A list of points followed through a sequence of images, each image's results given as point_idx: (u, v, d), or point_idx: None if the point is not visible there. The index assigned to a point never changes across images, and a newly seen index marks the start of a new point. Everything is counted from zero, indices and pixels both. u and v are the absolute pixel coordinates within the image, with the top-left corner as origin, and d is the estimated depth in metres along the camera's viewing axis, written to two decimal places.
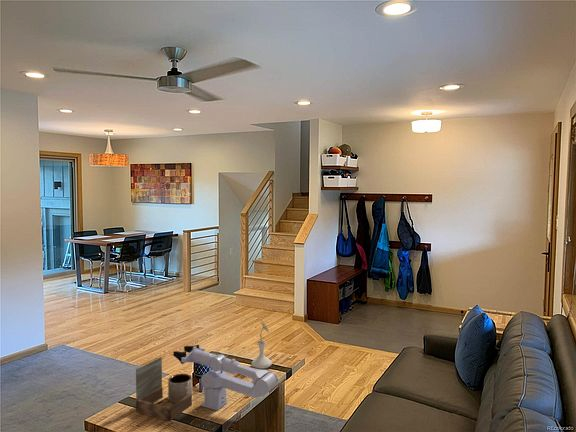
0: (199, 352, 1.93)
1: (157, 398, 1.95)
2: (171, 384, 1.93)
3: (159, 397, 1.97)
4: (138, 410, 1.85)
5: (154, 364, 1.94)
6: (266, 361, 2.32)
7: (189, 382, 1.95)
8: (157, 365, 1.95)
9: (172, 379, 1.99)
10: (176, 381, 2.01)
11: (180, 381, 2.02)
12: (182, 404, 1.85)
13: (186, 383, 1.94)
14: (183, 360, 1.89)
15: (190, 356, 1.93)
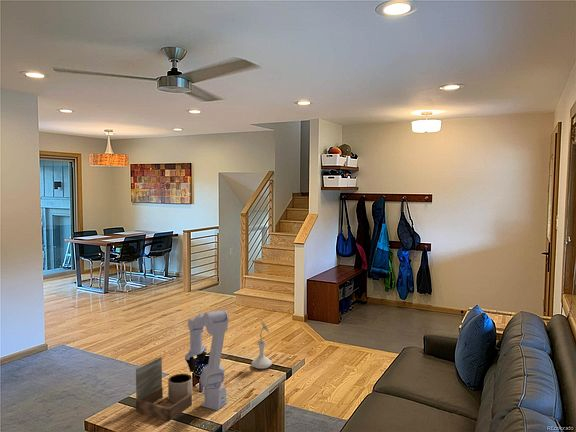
0: None
1: (157, 398, 1.95)
2: (171, 384, 1.93)
3: (159, 397, 1.97)
4: (138, 410, 1.85)
5: (154, 364, 1.94)
6: (266, 361, 2.32)
7: (189, 382, 1.95)
8: (157, 365, 1.95)
9: (172, 379, 1.99)
10: (176, 381, 2.01)
11: (180, 381, 2.02)
12: (182, 404, 1.85)
13: (186, 383, 1.94)
14: (186, 357, 2.01)
15: (191, 353, 2.05)
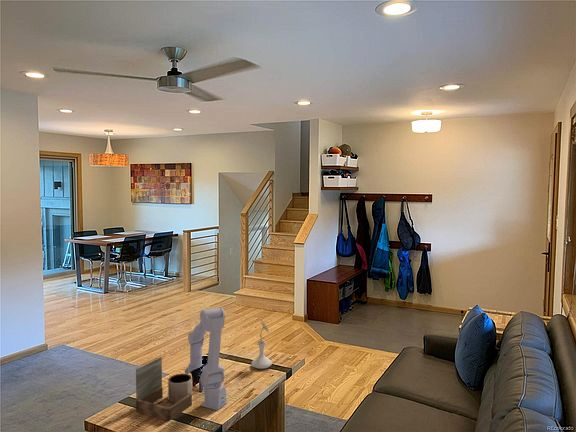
0: None
1: (157, 398, 1.95)
2: (171, 384, 1.93)
3: (159, 397, 1.97)
4: (138, 410, 1.85)
5: (154, 364, 1.94)
6: (266, 361, 2.32)
7: (189, 382, 1.95)
8: (157, 365, 1.95)
9: (172, 379, 1.99)
10: (176, 381, 2.01)
11: (180, 381, 2.02)
12: (182, 404, 1.85)
13: (186, 383, 1.94)
14: (186, 371, 2.02)
15: (191, 366, 2.06)
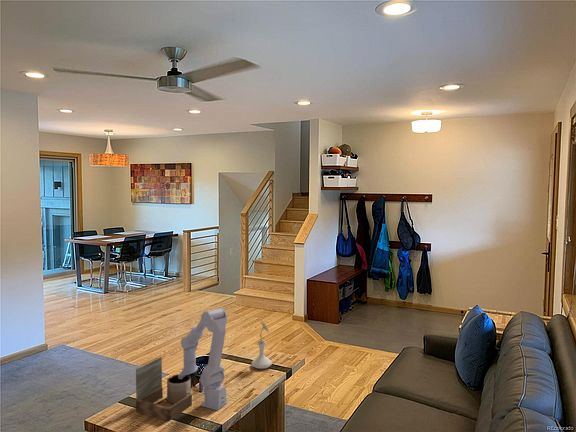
0: None
1: (157, 398, 1.95)
2: (170, 384, 1.92)
3: (159, 397, 1.97)
4: (138, 410, 1.85)
5: (154, 364, 1.94)
6: (266, 361, 2.32)
7: (188, 382, 1.95)
8: (157, 365, 1.95)
9: (171, 379, 1.98)
10: (175, 382, 2.00)
11: (179, 381, 2.01)
12: (182, 404, 1.85)
13: (185, 383, 1.93)
14: (179, 376, 1.97)
15: (184, 371, 2.01)
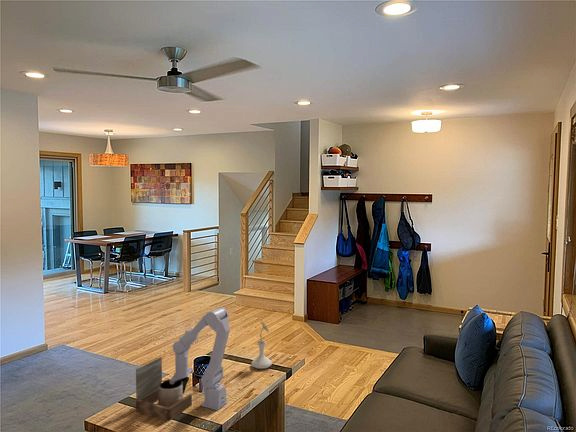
0: None
1: (157, 398, 1.95)
2: (161, 390, 1.87)
3: None
4: (138, 410, 1.85)
5: (154, 364, 1.94)
6: (266, 361, 2.32)
7: (180, 388, 1.89)
8: (157, 365, 1.95)
9: (162, 385, 1.93)
10: (167, 387, 1.95)
11: (170, 386, 1.96)
12: (182, 404, 1.85)
13: (177, 389, 1.88)
14: (171, 381, 1.92)
15: (176, 376, 1.96)
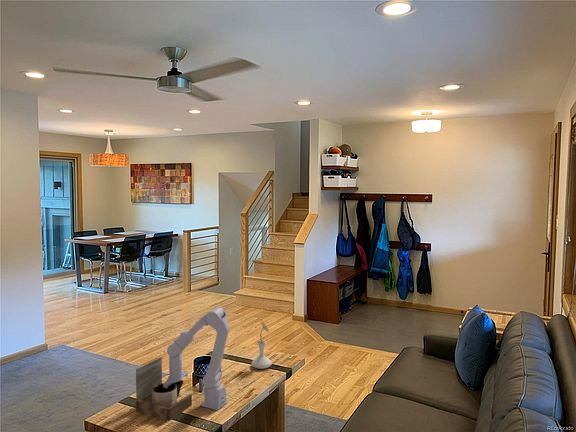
0: None
1: None
2: (155, 394, 1.83)
3: None
4: (138, 410, 1.85)
5: (154, 364, 1.94)
6: (266, 361, 2.32)
7: (174, 391, 1.86)
8: (157, 365, 1.95)
9: (156, 389, 1.89)
10: (160, 391, 1.91)
11: (164, 390, 1.92)
12: (182, 404, 1.85)
13: (171, 393, 1.84)
14: (164, 385, 1.88)
15: (170, 380, 1.92)
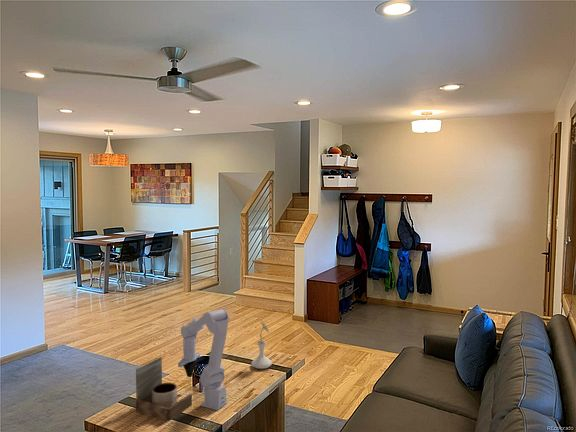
0: None
1: None
2: (155, 394, 1.83)
3: None
4: (138, 410, 1.85)
5: (154, 364, 1.94)
6: (266, 361, 2.32)
7: (174, 392, 1.86)
8: (157, 365, 1.95)
9: (156, 389, 1.89)
10: (160, 391, 1.91)
11: (164, 390, 1.92)
12: (182, 404, 1.85)
13: (171, 393, 1.84)
14: (179, 364, 1.99)
15: (184, 360, 2.03)
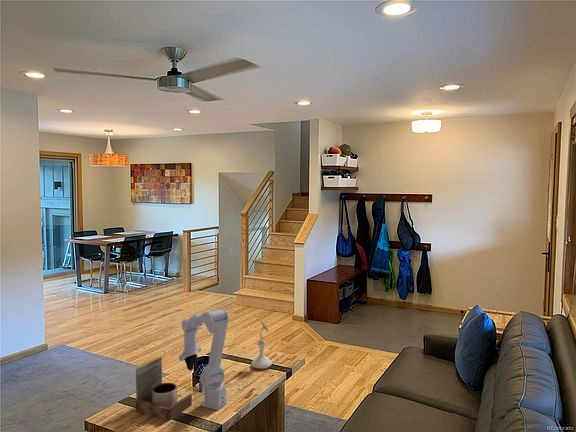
0: None
1: None
2: (155, 394, 1.83)
3: None
4: (138, 410, 1.85)
5: (154, 364, 1.94)
6: (266, 361, 2.32)
7: (174, 392, 1.86)
8: (157, 365, 1.95)
9: (156, 389, 1.89)
10: (160, 391, 1.91)
11: (164, 390, 1.92)
12: (182, 404, 1.85)
13: (171, 393, 1.84)
14: (180, 357, 2.00)
15: (185, 353, 2.04)
